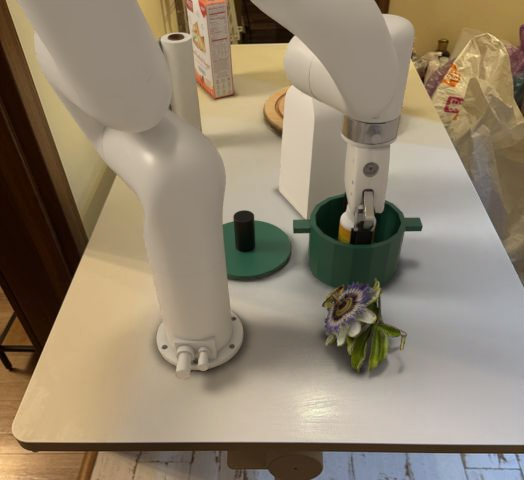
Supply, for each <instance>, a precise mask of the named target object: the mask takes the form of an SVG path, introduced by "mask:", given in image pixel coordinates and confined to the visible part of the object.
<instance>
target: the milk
mask: <svg viewBox="0 0 524 480" xmlns="http://www.w3.org/2000/svg"><path fill="white" fill-rule="evenodd" d="M291 85H292V84H291ZM342 119H343V113H341V112H339V111H337V110H336V109H334V108H332V107H330V106H328V105H327V104H325V103H322V102H320V101H318V100H316V99H314V98H312V97H310V96H308V95H306V94H304V93H302V92H301V91H299V90H298V89H296V88H295V87H294V86H293V85H292V86H291V87H290V88H289V89H288V91H287V92H286V95H285V103H284V118H283V133H282V134H281V147H280V148H281V150H280V163H279V178H278V179H279V180H278V192H279V193H281V195H282V196H283V197H284V198H285V199H286V201H288V202H289V203H290V205H291V206H292V207H293V208H294V209H295V210H296V211H297V212H298V213H299V215H301V216H302V218H303V219H310V214H311V212H312V211H313V209H314V208H315V206H316V205H317V204H318V203H320V202H322V201H323V200H325V199H327V198H329V197H333V196H337V195H341V194H344V193H345V192H346V189H345V182H344V174H345V161H346V152H347V144H348V143H347V142H346V141H345V140H343V138H342V137H341V129H342Z"/></svg>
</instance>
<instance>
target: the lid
mask: <svg viewBox="0 0 524 480" xmlns="http://www.w3.org/2000/svg"><path fill="white" fill-rule="evenodd" d="M232 217H233V221H229V222H226V223H223V237H224V248H225V258H226V269H227V278H231V279H254V278H259V277H265V276H267V275H270V274H272V273H274V272H276V271H278V270H279V269H280V268H282V267H283V266H284V265H285V264H286V263H287V261H288V260H289V259H290V256H291V253H292V241H291V240H290V239H291V238H289V236H288V233H286V232H285V231H284V230H283V229H281V228H280V227H279V226H276V225H275V224H272V223H270V222H266V221H262V220H256V219H255V214H254V212H252V211H250V210H245V209H244V210H238V211H236V212H235V213H234V214H233V216H232Z"/></svg>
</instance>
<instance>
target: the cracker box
mask: <svg viewBox="0 0 524 480" xmlns="http://www.w3.org/2000/svg"><path fill="white" fill-rule="evenodd" d="M185 4H186V12H187V19H188V21H187V22H188V28H189V35H191V37H192V46H193V55H194V63H195V72H196V81H197V82H198V83H199V84H200V86H202V87H203V89H204V90H205V91H206V92H207V93H208V94H209V95H210V96H211V97H212V98H213V99H214V100H215V99H219V98H224V97H229V96H232V95H235V89H234V74H233V61H232V58H233V57H232V46H231V45H232V43H231V29H230V14H229V3H228V0H185Z"/></svg>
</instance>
